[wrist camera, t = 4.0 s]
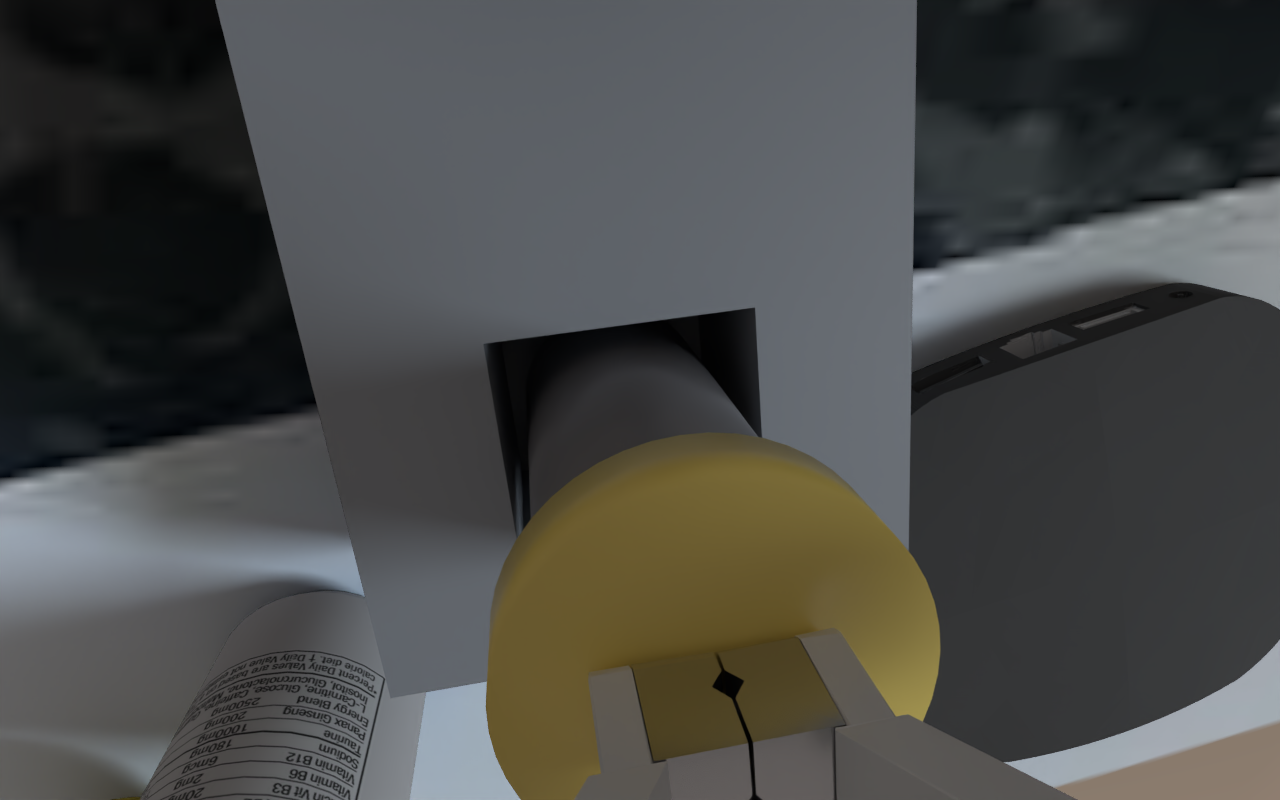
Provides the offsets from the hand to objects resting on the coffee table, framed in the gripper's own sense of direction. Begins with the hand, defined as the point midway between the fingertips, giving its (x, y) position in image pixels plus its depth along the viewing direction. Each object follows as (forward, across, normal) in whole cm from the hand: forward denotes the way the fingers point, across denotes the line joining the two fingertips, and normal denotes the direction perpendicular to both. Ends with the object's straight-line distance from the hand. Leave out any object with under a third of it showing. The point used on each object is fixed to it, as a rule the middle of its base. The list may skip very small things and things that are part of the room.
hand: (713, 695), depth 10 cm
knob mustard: (+11, 0, 0) cm, 11 cm away
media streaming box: (+15, -15, +8) cm, 23 cm away
